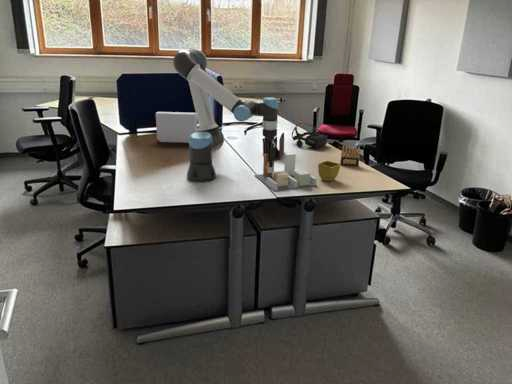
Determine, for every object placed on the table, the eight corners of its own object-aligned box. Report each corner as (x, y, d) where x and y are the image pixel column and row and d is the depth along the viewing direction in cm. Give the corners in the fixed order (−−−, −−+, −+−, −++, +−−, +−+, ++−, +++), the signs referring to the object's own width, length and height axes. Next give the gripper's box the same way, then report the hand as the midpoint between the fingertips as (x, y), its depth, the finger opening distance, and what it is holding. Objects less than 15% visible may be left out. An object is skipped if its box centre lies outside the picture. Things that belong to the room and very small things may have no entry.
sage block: (283, 175, 229) (284, 153, 225) (293, 173, 231) (294, 152, 227) (299, 186, 213) (300, 163, 209) (309, 184, 216) (311, 162, 211)
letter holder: (284, 152, 275) (285, 130, 270) (280, 161, 257) (281, 138, 252) (268, 151, 276) (269, 130, 271) (263, 159, 258) (264, 137, 253)
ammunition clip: (358, 165, 250) (360, 146, 246) (358, 166, 249) (360, 146, 244) (340, 164, 252) (342, 144, 248) (340, 165, 251) (341, 145, 246)
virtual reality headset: (314, 153, 280) (318, 131, 274) (285, 143, 292) (288, 122, 286) (328, 147, 294) (332, 126, 288) (299, 138, 306) (303, 118, 300)
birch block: (262, 175, 227) (262, 154, 223) (272, 174, 230) (273, 153, 225) (277, 186, 212) (278, 163, 208) (287, 185, 214) (288, 162, 210)
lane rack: (254, 176, 229) (254, 168, 227) (293, 171, 238) (294, 164, 236) (274, 191, 207) (274, 184, 206) (316, 185, 216) (317, 178, 215)
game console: (196, 143, 291) (195, 114, 284) (157, 142, 292) (155, 113, 285) (198, 141, 297) (197, 112, 290) (159, 140, 297) (157, 111, 290)
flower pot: (339, 180, 226) (341, 163, 222) (330, 184, 220) (332, 167, 216) (325, 176, 231) (326, 160, 228) (316, 179, 225) (317, 163, 222)
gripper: (283, 131, 213) (281, 175, 221) (270, 124, 226) (268, 166, 235) (269, 132, 210) (268, 176, 219) (257, 125, 224) (256, 168, 232)
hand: (268, 171), depth 227 cm, fingers closed on birch block, 2 cm apart
